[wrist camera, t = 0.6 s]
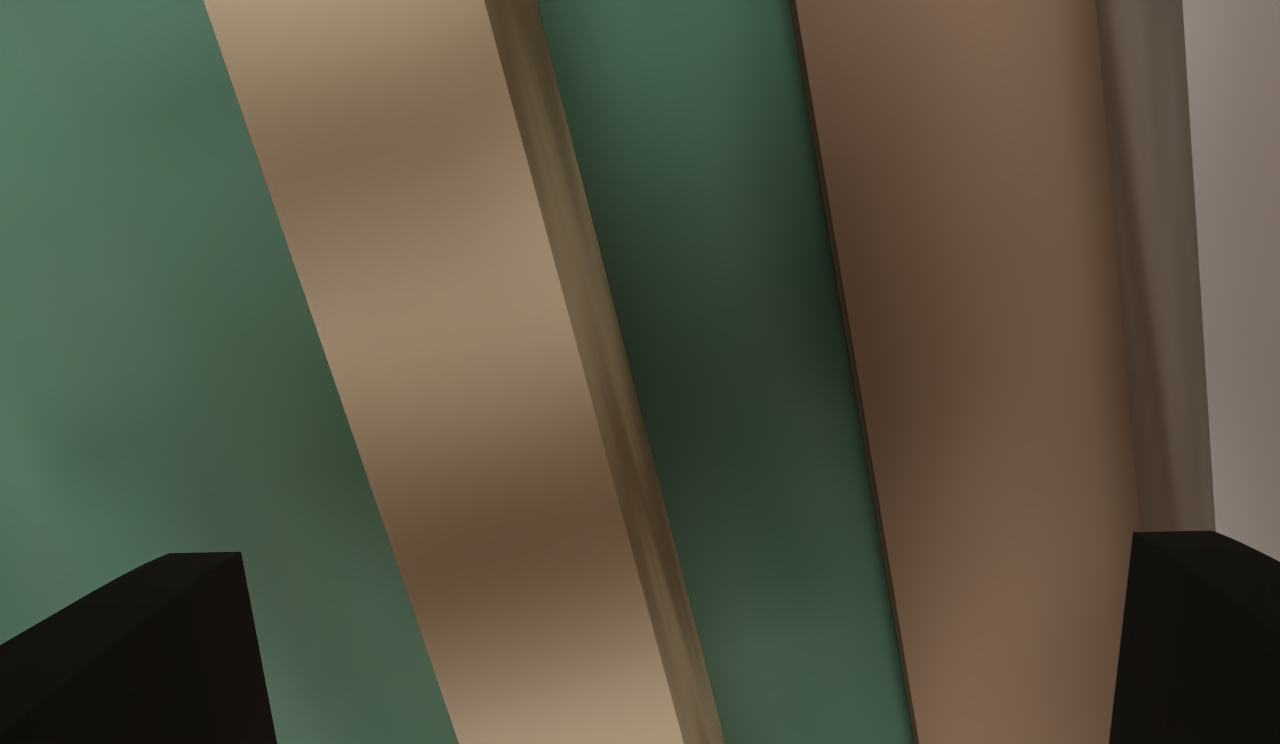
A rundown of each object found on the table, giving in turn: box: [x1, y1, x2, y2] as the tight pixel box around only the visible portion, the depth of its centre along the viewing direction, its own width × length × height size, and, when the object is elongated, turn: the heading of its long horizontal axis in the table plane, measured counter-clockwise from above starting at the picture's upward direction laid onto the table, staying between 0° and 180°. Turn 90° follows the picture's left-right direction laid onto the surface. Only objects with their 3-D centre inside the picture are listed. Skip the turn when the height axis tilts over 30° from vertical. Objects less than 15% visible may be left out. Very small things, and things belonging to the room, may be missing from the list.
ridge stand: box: [790, 0, 1280, 744], centre depth 17 cm, size 10×16×4 cm, turn 12°
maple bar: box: [204, 0, 725, 744], centre depth 18 cm, size 20×3×5 cm, turn 13°
